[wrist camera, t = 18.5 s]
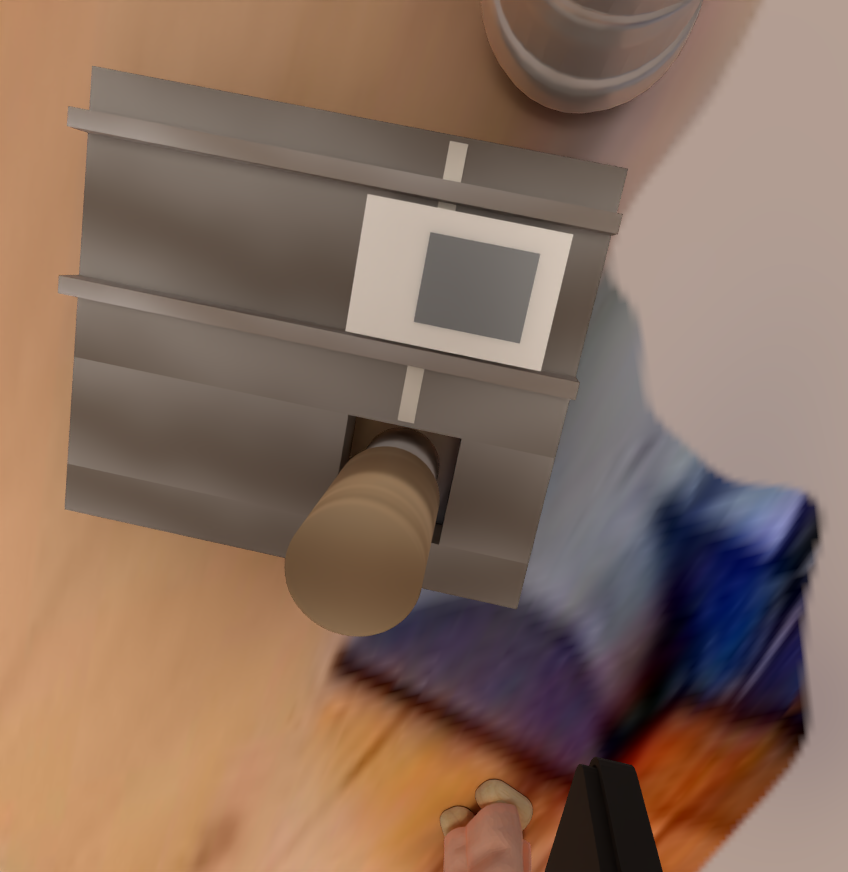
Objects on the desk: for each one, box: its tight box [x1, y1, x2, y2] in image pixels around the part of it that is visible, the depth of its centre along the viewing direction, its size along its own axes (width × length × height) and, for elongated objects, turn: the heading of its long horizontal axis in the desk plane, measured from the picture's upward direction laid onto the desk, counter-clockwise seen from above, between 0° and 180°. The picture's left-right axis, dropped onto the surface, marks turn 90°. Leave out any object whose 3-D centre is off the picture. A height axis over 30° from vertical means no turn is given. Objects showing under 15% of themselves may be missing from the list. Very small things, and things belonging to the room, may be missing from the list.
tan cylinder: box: [285, 428, 440, 636], centre depth 23 cm, size 4×4×10 cm
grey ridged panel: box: [58, 66, 628, 609], centre depth 25 cm, size 16×18×3 cm
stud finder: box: [345, 194, 573, 371], centre depth 22 cm, size 4×6×3 cm, turn 79°
